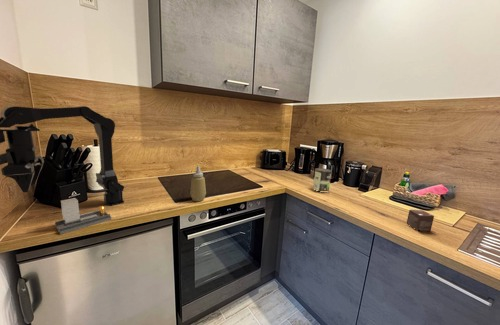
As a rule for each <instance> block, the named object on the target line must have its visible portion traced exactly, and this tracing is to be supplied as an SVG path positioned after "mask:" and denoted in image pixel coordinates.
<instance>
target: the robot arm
mask: <svg viewBox="0 0 500 325" xmlns="http://www.w3.org/2000/svg"><path fill="white" fill-rule="evenodd" d="M0 115H1V117H0V144H3V143H5V142H6V139H7V144H8V147H7V148H6V149H5V152H4V153H1V154H0V165H4V164H7V165H5V166H3V167H1V169H0V170H1V175H2V176H5V177H7V178H10V179H13V180H14V181H15V182H16V184H17V186H18V187H19V188H20V190H21V191H22V192H23V193H29V191H30V189H31V185H32V186H33V185H34V186H35V185H36V183H37V181H38V178H39V176H40V174H41V171H42V169H43V166H44V163H45V160H44V157H42V156H41V155H37V154H36V150H37V146H35V143H34V138H33V132H40V131H41V129H40V128H39V127H36V126H35V125H34V124H33V123H35V122H39V121H42V120H49V119H63V118H64V119H65V118H75V117H77V118H78V117H82V118H83V119H84V120H86V121H87V122H88V123H90V124H92V125H93V127H94V131H95V134H96V135H97V137H98V138H97V139H98V146H99V160H100V162H99V163H100V171H99V173H97V172H96V173H95V177H96V180H95V182H96V183H97V185H98V186H99V187H102V189H103V190H104V194H103V202H104V204H106V205H107V206H110V207H111V206H115V205H118V204H123V203H125V200H124V197H123V192H124V189H125V186H124V185H123V184H121V183H119V180H118V176H117V174H116V172H115V170H114V160H113V144H112V142H113V141H112V140H113V136H114V135H115V134H114V133H115V131H116V129H115V128H116V124H115V122H114V120H113V119H111V118H109V117H105V116H104V115H102V114H100V113H98V112H96V111H95V110H92V109H91V108H90V107H88V106H85V105H82V106H81V105H80V106H71V107H70V106H69V107H53V108H52V107H51V108H50V107H49V108H40V107H39V108H38V107H30V106H29V107H28V106H27V107H26V106H6V107H4V108H3V109H2V110H1V112H0ZM26 124H28V125H26ZM13 126H14V128H12V127H13ZM3 128H4V129H3ZM4 132H5V133H4ZM5 135H6V137H5Z"/></svg>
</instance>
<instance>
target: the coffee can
mask: <svg viewBox="0 0 500 325" xmlns="http://www.w3.org/2000/svg"><path fill="white" fill-rule="evenodd" d="M332 172H333V171H332V169H329V168H323V167H319V168H318V167H317V168H315V169H314V178H313V185H312V190H313V189H315V190H318V191H329V192H330V184H331V178H332Z"/></svg>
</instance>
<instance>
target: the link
mask: <svg viewBox="0 0 500 325" xmlns="http://www.w3.org/2000/svg"><path fill="white" fill-rule="evenodd" d="M60 206H61V214H62V220H63V222H64V224H65V225H66V226H67V225H71V224H74V223H78V222H82V221H85V220H89V219H92V218H96V217H97V215H96V214H95V215H94V212H95V211H90V212H86V213H82V214H80V208H79V200H78V199H77V198H76V197H73V198H68V199H63V200H60Z"/></svg>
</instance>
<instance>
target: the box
mask: <svg viewBox="0 0 500 325" xmlns="http://www.w3.org/2000/svg"><path fill="white" fill-rule="evenodd" d="M434 219H435V215H433V214H431V213H429V212H427V211H425V210H423V209H409V211H408V215H407V218H406V223H407V224H408V225H410V226H411V227H413V228H415V229H416V230H420V231H419V232H431V230H432V226H433V223H434ZM408 225H407V226H408ZM410 226H409V227H410ZM411 227H410V228H411ZM413 228H412V229H413ZM415 229H414V230H415ZM416 230H415V231H416Z"/></svg>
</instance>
